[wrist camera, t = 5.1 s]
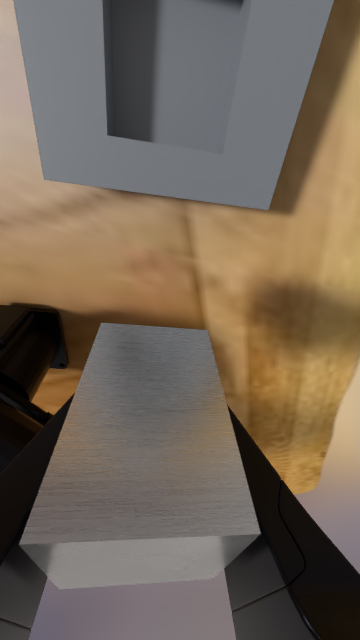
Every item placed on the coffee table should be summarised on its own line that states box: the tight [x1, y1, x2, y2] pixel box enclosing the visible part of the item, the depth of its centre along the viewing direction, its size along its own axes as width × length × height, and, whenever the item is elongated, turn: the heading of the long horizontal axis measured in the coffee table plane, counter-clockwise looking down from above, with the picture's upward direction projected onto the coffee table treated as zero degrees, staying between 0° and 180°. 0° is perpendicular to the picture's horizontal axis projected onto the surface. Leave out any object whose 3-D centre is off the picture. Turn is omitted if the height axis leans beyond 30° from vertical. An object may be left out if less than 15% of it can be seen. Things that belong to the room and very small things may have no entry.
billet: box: [19, 323, 261, 589], centre depth 7 cm, size 4×4×6 cm
